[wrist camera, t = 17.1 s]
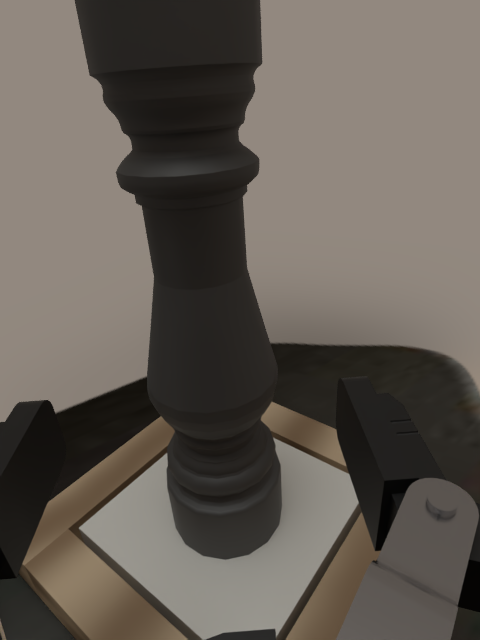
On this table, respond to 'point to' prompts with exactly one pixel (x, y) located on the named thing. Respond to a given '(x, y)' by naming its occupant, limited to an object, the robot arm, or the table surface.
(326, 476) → the platform
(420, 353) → the table surface
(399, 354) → the table surface
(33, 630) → the table surface
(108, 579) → the stand
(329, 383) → the table surface
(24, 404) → the robot arm
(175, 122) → the candle holder
